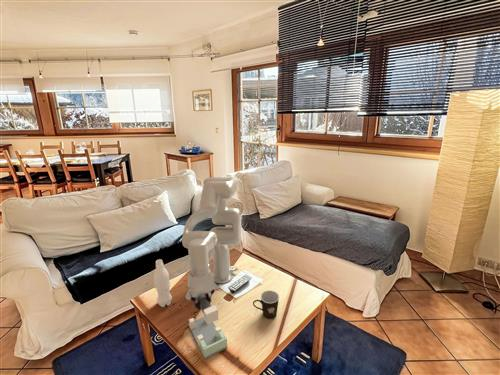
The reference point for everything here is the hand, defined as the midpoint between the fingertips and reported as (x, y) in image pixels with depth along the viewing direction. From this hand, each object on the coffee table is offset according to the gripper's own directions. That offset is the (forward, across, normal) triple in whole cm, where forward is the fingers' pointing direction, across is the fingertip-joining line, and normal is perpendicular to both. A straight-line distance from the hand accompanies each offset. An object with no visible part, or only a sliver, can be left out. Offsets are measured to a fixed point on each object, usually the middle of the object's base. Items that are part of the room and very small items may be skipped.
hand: (203, 305), depth 114 cm
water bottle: (+15, +10, -29) cm, 34 cm away
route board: (+15, 0, +1) cm, 15 cm away
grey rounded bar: (0, 0, 0) cm, 0 cm away
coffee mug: (+15, -29, +4) cm, 33 cm away
